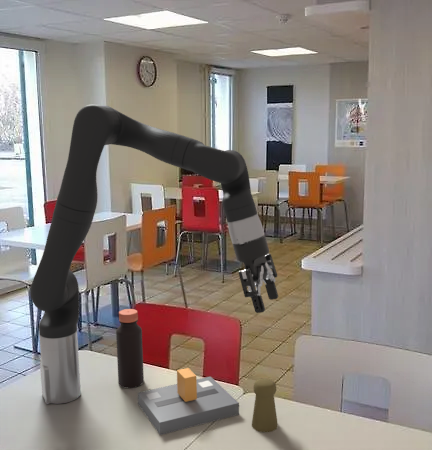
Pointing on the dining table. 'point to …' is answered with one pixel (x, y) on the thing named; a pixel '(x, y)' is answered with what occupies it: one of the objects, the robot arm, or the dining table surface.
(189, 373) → the knob
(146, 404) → the panel
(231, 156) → the robot arm
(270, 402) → the olive pawn
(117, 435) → the dining table surface
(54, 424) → the dining table surface
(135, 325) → the bottle
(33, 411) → the dining table surface
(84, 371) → the dining table surface
